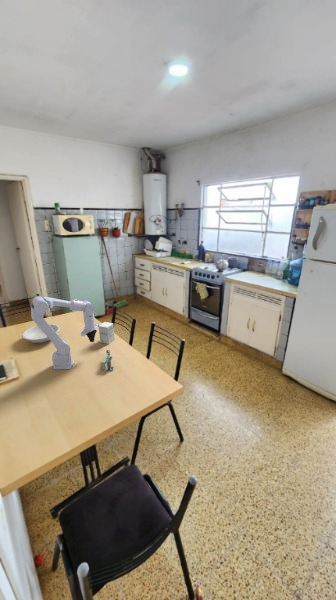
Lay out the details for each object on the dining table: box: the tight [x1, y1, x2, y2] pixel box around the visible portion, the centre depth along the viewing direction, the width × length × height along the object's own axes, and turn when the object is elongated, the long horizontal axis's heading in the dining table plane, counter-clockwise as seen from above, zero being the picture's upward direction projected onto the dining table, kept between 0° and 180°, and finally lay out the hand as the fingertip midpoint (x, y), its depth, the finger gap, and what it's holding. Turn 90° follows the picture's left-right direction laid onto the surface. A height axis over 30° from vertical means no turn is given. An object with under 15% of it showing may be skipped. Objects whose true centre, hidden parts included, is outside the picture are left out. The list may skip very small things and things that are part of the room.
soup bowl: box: [21, 323, 61, 344], centre depth 175 cm, size 24×24×7 cm
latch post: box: [106, 359, 114, 372], centre depth 142 cm, size 3×4×6 cm
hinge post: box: [105, 349, 113, 361], centre depth 152 cm, size 4×4×6 cm
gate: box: [102, 353, 109, 370], centre depth 146 cm, size 10×1×4 cm, turn 0°
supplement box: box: [98, 321, 116, 345], centre depth 171 cm, size 7×7×13 cm
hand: (92, 341), depth 153 cm, fingers closed
